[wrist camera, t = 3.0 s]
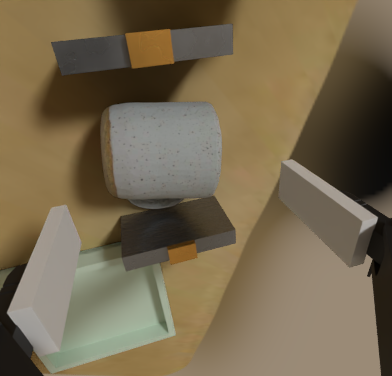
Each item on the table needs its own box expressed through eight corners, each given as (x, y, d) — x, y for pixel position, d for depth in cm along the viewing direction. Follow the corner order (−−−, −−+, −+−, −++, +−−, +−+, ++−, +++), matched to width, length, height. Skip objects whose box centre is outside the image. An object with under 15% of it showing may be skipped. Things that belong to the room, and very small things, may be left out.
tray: (55, 354, 34) (51, 373, 32) (-3, 270, 26) (-13, 290, 24) (172, 318, 37) (175, 335, 35) (153, 234, 29) (156, 248, 27)
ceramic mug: (100, 93, 21) (92, 121, 14) (199, 92, 23) (232, 116, 16) (115, 204, 26) (115, 260, 20) (195, 196, 28) (218, 245, 22)
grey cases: (124, 229, 27) (126, 276, 22) (68, 40, 19) (48, 41, 13) (215, 208, 29) (237, 247, 24) (203, 26, 20) (235, 22, 15)
